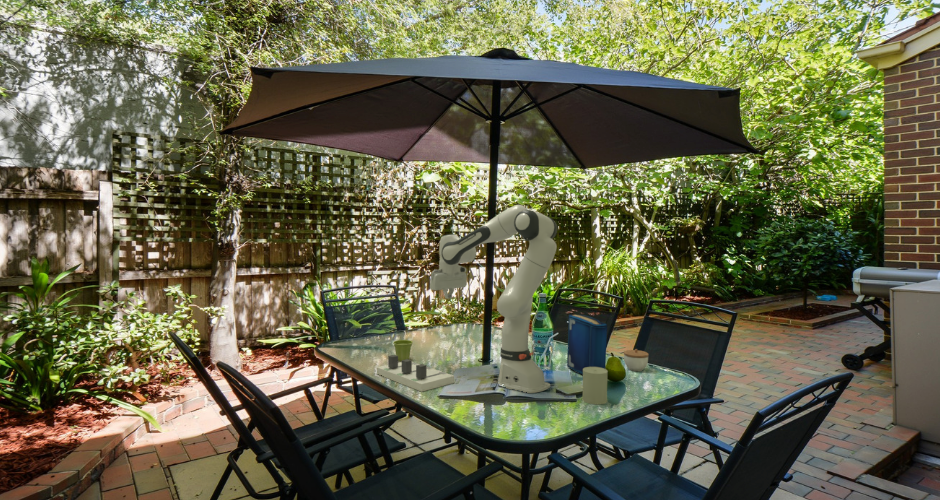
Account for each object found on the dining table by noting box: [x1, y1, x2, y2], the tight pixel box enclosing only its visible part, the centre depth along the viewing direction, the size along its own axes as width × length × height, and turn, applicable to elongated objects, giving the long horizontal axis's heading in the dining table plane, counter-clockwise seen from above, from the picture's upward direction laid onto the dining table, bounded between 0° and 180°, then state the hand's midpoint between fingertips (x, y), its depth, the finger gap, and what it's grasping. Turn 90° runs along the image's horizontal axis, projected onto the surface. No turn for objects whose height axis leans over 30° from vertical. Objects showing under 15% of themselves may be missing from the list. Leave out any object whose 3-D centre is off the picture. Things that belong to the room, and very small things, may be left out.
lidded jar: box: [623, 348, 649, 372], centre depth 234 cm, size 11×11×9 cm
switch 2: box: [416, 363, 428, 379], centre depth 208 cm, size 3×3×5 cm
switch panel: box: [376, 361, 455, 393], centre depth 218 cm, size 32×17×3 cm, turn 43°
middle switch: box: [401, 359, 413, 374], centre depth 215 cm, size 3×3×5 cm
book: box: [566, 314, 608, 376], centre depth 226 cm, size 22×7×25 cm, turn 22°
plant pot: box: [392, 339, 413, 362], centre depth 248 cm, size 9×9×9 cm
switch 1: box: [387, 354, 399, 369], centre depth 222 cm, size 3×3×5 cm
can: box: [581, 367, 609, 405], centre depth 192 cm, size 9×9×12 cm
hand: (448, 298), depth 240 cm, fingers closed
